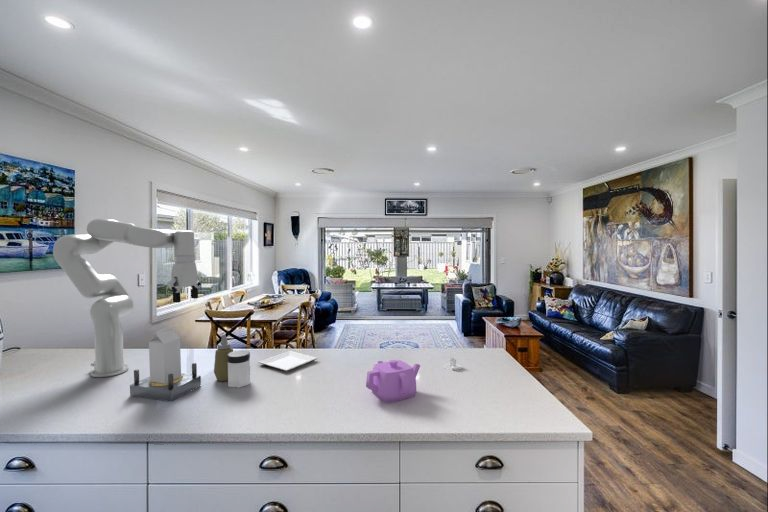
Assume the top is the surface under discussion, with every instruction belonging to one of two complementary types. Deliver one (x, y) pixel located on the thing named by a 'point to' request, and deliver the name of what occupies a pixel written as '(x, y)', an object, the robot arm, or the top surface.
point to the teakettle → (392, 380)
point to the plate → (287, 360)
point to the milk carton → (164, 356)
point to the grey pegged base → (165, 386)
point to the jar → (238, 368)
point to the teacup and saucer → (453, 364)
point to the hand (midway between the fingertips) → (185, 300)
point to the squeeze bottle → (222, 359)
